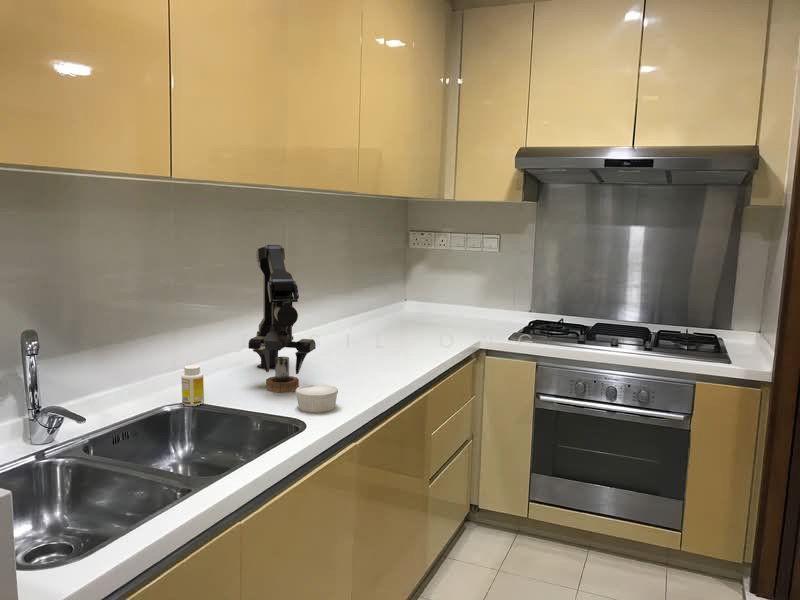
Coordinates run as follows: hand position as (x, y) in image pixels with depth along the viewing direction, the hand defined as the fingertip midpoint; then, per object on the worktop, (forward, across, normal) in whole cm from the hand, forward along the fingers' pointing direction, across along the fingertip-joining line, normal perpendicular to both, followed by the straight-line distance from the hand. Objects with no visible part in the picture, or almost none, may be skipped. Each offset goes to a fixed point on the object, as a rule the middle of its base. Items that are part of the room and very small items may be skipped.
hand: (282, 373), depth 193 cm
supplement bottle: (+5, -17, -21) cm, 27 cm away
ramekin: (+5, +16, -16) cm, 23 cm away
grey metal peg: (+4, 0, 0) cm, 5 cm away
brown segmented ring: (+4, 0, 0) cm, 4 cm away
